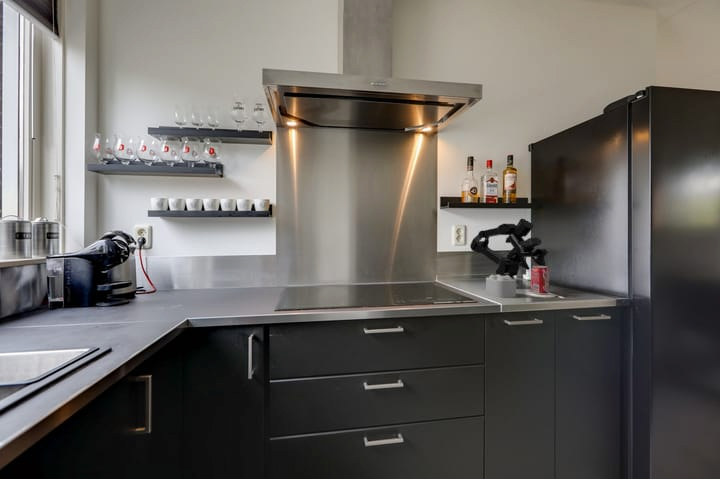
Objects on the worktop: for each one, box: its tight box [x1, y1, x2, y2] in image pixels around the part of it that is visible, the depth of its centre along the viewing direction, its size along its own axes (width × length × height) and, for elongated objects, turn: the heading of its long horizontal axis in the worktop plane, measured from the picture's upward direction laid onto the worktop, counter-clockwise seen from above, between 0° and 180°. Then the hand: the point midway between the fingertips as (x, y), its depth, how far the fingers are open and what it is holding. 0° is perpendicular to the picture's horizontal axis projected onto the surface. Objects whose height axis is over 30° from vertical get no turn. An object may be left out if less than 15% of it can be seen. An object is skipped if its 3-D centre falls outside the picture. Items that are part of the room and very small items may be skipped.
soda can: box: [530, 265, 550, 295], centre depth 138 cm, size 7×7×12 cm
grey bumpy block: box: [485, 274, 517, 299], centre depth 138 cm, size 10×13×9 cm
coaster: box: [525, 291, 556, 299], centre depth 138 cm, size 11×11×1 cm
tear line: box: [550, 292, 565, 299], centre depth 137 cm, size 12×1×1 cm, turn 175°
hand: (537, 269), depth 140 cm, fingers open, 9 cm apart
